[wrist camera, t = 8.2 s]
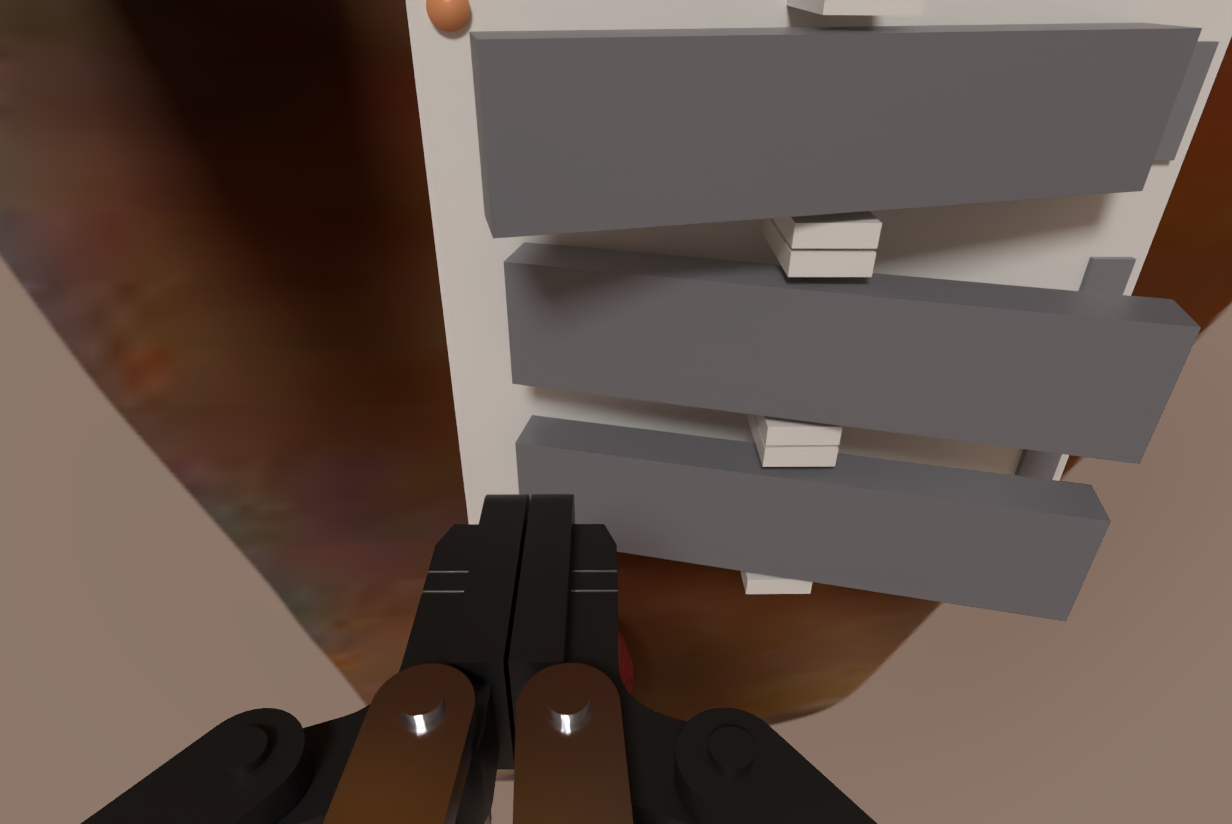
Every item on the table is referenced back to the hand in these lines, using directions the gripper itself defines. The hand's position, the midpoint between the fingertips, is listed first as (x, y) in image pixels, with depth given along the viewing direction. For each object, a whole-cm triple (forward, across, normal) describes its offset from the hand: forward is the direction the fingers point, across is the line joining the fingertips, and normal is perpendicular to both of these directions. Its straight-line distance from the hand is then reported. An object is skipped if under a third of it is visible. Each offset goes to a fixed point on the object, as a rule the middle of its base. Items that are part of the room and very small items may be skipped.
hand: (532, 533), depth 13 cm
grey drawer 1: (+7, -7, -5) cm, 11 cm away
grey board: (+7, -7, +6) cm, 11 cm away
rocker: (+7, -7, 0) cm, 10 cm away
